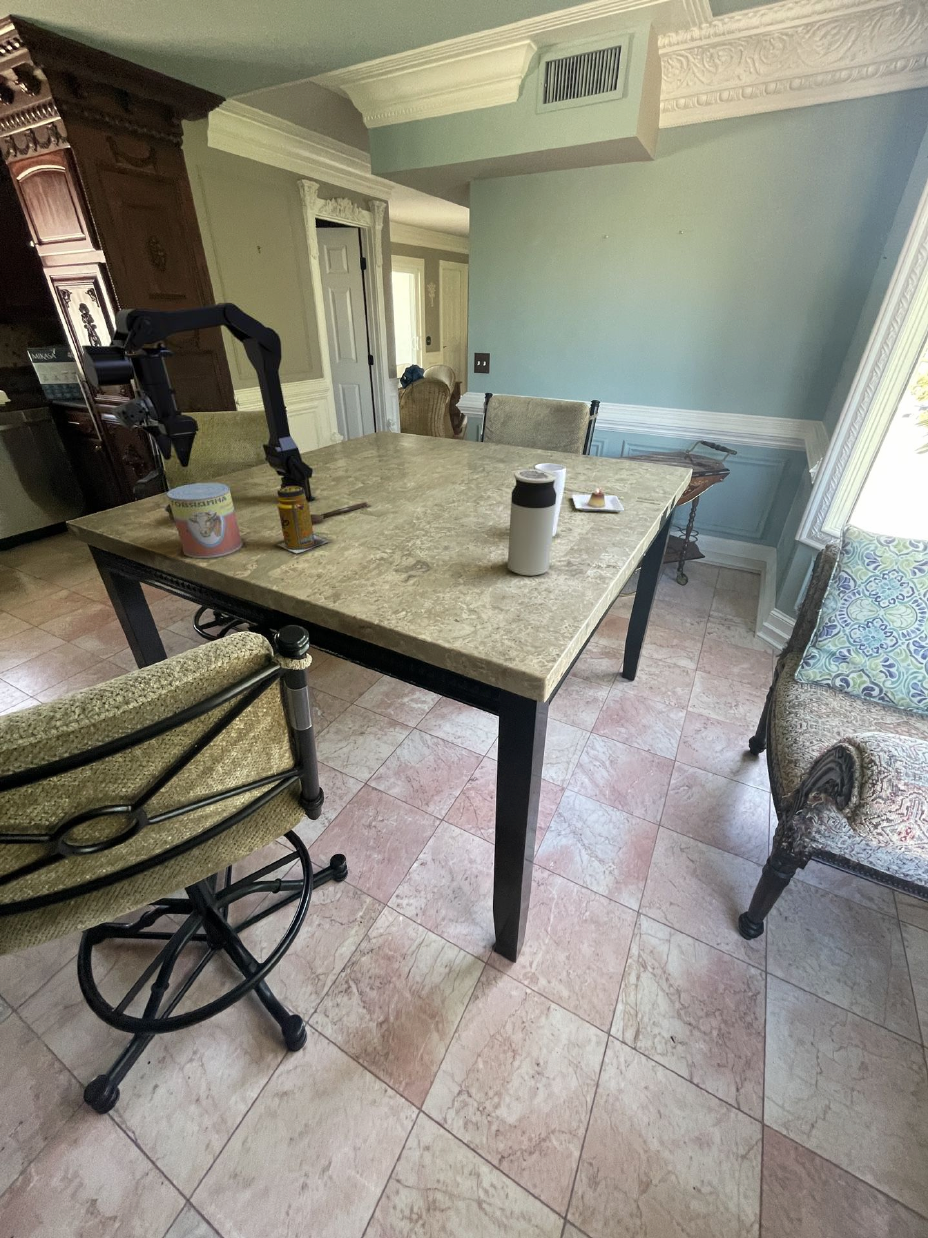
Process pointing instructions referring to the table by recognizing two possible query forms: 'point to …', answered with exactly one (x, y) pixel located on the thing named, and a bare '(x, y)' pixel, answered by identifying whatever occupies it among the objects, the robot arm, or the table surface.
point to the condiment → (296, 520)
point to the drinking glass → (555, 487)
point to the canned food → (205, 519)
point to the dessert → (597, 502)
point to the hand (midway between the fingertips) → (176, 463)
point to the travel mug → (531, 522)
